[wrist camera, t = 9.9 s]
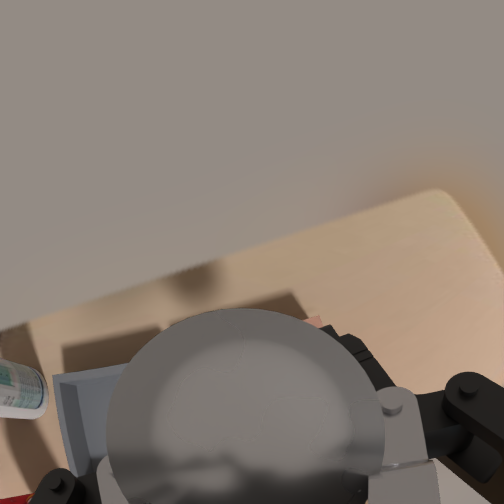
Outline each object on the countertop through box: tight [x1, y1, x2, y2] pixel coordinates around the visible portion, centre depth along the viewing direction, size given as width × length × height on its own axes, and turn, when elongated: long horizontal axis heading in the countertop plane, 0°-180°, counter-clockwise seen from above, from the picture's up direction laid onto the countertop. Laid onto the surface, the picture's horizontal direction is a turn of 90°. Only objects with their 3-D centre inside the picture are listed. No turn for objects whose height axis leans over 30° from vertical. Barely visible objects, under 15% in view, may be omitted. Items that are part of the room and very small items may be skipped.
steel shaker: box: [106, 308, 385, 504], centre depth 9 cm, size 5×5×10 cm
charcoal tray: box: [52, 363, 128, 477], centre depth 23 cm, size 12×12×4 cm
